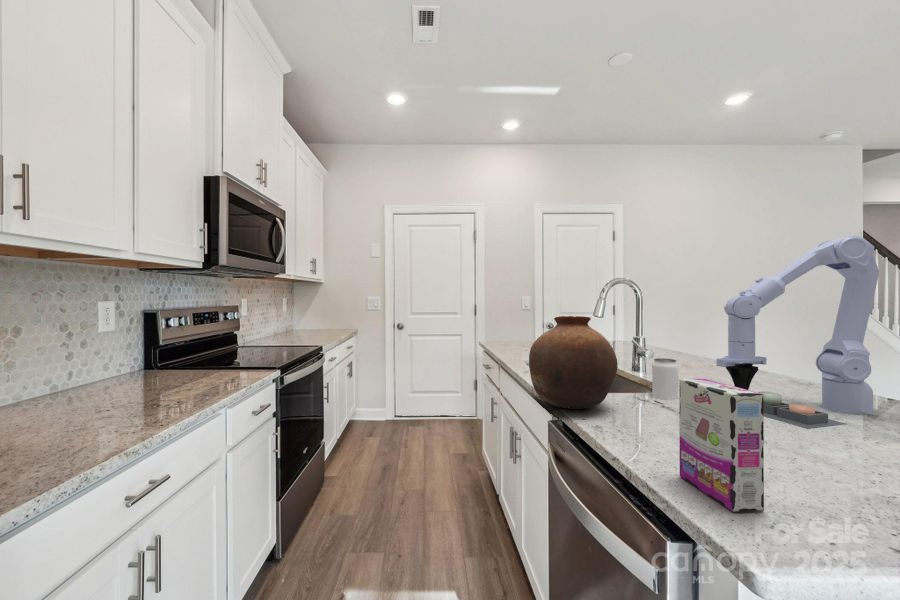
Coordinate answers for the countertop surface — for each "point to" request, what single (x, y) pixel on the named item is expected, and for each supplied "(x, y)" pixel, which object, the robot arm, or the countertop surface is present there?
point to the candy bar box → (723, 443)
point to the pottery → (572, 364)
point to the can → (665, 379)
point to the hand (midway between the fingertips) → (741, 392)
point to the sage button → (772, 398)
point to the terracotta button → (802, 409)
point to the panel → (799, 417)
